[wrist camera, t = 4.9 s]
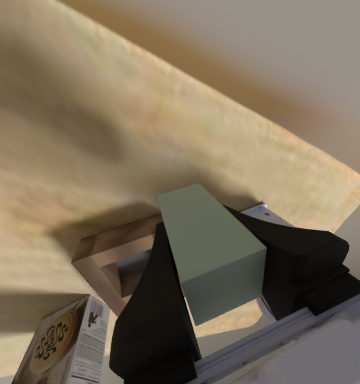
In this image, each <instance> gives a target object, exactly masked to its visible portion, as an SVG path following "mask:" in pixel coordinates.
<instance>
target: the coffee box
mask: <svg viewBox="0 0 360 384" xmlns="http://www.w3.org/2000/svg"><path fill="white" fill-rule="evenodd" d="M109 312H110V308H109V307H107V306H106V305H105V304H103V303H102V302H100V301H99V300H97V299H96V298H94V297H93V296H92V295H90V294H88V295H86V296H85V297H83V298H81V299H79V300H77V301H75V302H74V303H72V304H70V305H68V306H66V307H64V308H63V309H61V310H59V311H57V312H55V313H54V314H52V315H50V316H48V317H46V318H44V319H43V320H41V321H40V323H39V325H38V327H37V330H36V332H35V334H34V336H33V338H32V340H31V343H30V345H29V347H28V349H27V351H26V353H25V356H24V357H23V360H22V362H21V364H20V366H19V368H18V371H17V373H16V375H15V377H14V379H13V381H12V384H100V381H101V374H102V366H103V358H104V351H105V343H106V335H107V327H108V320H109Z"/></svg>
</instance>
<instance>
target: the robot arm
mask: <svg viewBox="0 0 360 384" xmlns="http://www.w3.org/2000/svg"><path fill="white" fill-rule="evenodd" d="M223 206H224V207H225V208H226V209H227V210H228V211H229V212H230V213H231V214H232V215H233V216H234V217H235V218H236V219H237V220H238V221H239V222H240V223H241V224H242V225H243V226H245V227H246V228H247V229H248V230H249V231H250V232H251V233H252V234H253V235H254V236H255V237H256V238H257V239H258V240H259V241H260V242H261V243H262V244H263V245H264V246H265V247H266V248H267V251H266V259H265V268H264V277H263V286H262V295H261V297H258V298H256V301H257V304H258V306H259V308H260V310H261V312H262V313H263V315H264V316H265V318H266V319H267V320H268V322H269V323H270V324H271V325H269V326H267V327H265V328H263V329H261V330H259V331H257V332H255V333H253V334H251V335H249V336H247V337H245V338H243V339H241V340H239V341H237V342H235V343H233V344H231V345H229V346H227V347H225V348H223V349H221V350H219V351H217V352H215V353H213V354H211V355H209V356H207V357H205V358H203V359H202V357H201V354H200V350H199V347H198V344H197V340H196V337H195V333H194V330H193V326H192V323H191V319H190V316H189V313H188V309H187V306H186V302H185V299H184V295H183V292H182V288H181V285H180V280H179V275H178V271H177V267H176V264H175V260H174V257H173V253H172V250H171V246H170V242H169V239H168V235H167V232H166V228H165V225H164V221H163V222H160V223H157V224H156V230H155V237H154V241H153V246H152V249H151V253H150V256H149V259H148V262H147V264H146V267H145V269H144V272H143V274H142V276H141V278H140V280H139V283H138V284H137V286H136V288H135V290H134V292H133V294H132V296H131V298H130V299H129V301H128V303H127V304H126V306H125V307H124V309H123V311H122V312H121V314H120V315H119V317H118V319H117V320H116V323H115V327H114V331H113V336H112V342H111V351H110V361H109V367H110V369H111V370H112V371H113V372H114V373H115V374H117V375H118V376H120V377H121V378H122V379H124V384H212V383H214V382H216V381H218V380H220V379H222V378H224V377H225V376H227V375H229V374H231V373H233V372H235V371H237V370H239V369H241V368H243V367H244V366H246V365H248V364H250V363H252V362H254V361H256V360H257V359H259V358H261V357H263V356H265V355H267V354H269V353H271V352H272V351H274V350H276V349H278V348H280V347H282V346H284V345H286V344H288V343H290V344H289V345H287V346H286V347H284V348H282V349H280V350H279V351H277V352H276V353H274V354H272V355H271V356H270V357H269V358H267V359H266V360H265V361H264V362H262V363H260V364H259V365H257V366H256V367H254V368H253V369H251V370H250V371H248V372H247V373H245V374H243V375H242V376H240V377H239V378H237V379H236V380H234V381H233V382H232V383H230V384H360V280H358V279H357V278H355V277H354V276H352V275H351V274H349V273H348V272H349V271H350V270H349V269H348V268H347V267H346V266H344V265H343V264H342V263H343V261H344V259H345V257H346V255H347V253H348V251H349V244H348V242H347V241H345V240H343V239H341V238H340V237H338V236H336V235H334V234H333V233H331V232H329V231H321V230H311V229H303V228H296V227H294V226H293V225H291V224H290V223H288V222H287V221H285V220H284V219H282V218H281V217H279V216H278V215H276V214H275V213H273V212H272V211H270V210H269V209H267V204H265V203H263V204H261V205H258V206H255V207H252V208H250V209H247V210H244V211H241V212H238V211H236V210H234V209H231V208H229V207H227V206H225V205H223Z"/></svg>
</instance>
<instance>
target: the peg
mask: <svg viewBox="0 0 360 384" xmlns="http://www.w3.org/2000/svg"><path fill="white" fill-rule="evenodd" d="M156 197H157V200H158V204H159V207H160V211H161V214H162V218H163V221H164V225H165V228H166V232H167V235H168V239H169V242H170V246H171V250H172V253H173V257H174V260H175V264H176V267H177V271H178V274H179V278H180V281H181V284H182V287H183V290H184V293H185V296H186V299H187V302H188V305H189V308H190V311H191V314H192V317H193V320H194V323H195V325H196V326H198V325H200V324H202V323H204V322H206V321H209V320H211V319H213V318H215V317H217V316H219V315H222V314H224V313H226V312H228V311H230V310H232V309H235V308H237V307H239V306H241V305H243V304H245V303H248V302H250V301H252V300H254V299H256V298H258V297H261V295H262V286H263V277H264V268H265V259H266V251H267V248H266V247H265V246H264V245H263V244H262V243H261V242H260V241H259V240H258V239H257V238H256V237H255V236H254V235H253V234H252V233H251V232H250V231H249V230H248V229H247V228H246V227H245V226H243V225H242V224H241V223H240V222H239V221H238V220H237V219H236V218H235V217H234V216H233V215H232V214H231V213H230V212H229V211H228V210H227V209H226V208H225V207H224V206H223V205H222V204H220V203H219V202H218V201H217V200H216V199H215V198H214V197H213V196H212V195H211V194H210V193H209V192H208V191H207V190H206V189H205V188H204V187H203V186H202V185H201V184H200V183H196V184H193V185H189V186H186V187H183V188H180V189H177V190H173V191H170V192H167V193H164V194H160V195H157V196H156Z"/></svg>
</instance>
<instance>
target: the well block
mask: <svg viewBox="0 0 360 384" xmlns="http://www.w3.org/2000/svg"><path fill="white" fill-rule="evenodd" d="M160 222H163V218H162V214H161V213H159V214H156V215H153V216H150V217H147V218H144V219H141V220H138V221H135V222H132V223H129V224H126V225H123V226H120V227H117V228H114V229H111V230H108V231H105V232H102V233H99V234H96V235H93V236H90V237H87V238H84V239H82V240H81V242H80V244H79V246H78V249H77V251H76V253H75V255H74V257H73V260H72V262H71V263H72V265H73V266H74V267H75V268H76V269H77V270H78V272H79V273H80V274H81V275H82V276H83V277H84V279H85V280H86V281H87V282H88V283H89V284H90V286H91V287H92V288H93V289H94V290H95V291H96V292H97V294H98V295H99V296H100V297H101V298H102V299H103V301H104V302H105V303H106V304H107V305H108V306H109V308H110V309H111V310H112V311H113V312H114V313H115V315H116V316H117V317H119V315H120V314H121V312H122V311H123V309H124V307H125V306H126V304H127V303H128V301H129V299H130V298H131V296H132V294H133V292H134V290H135V288H136V286H137V284H138V283H139V280H140V278H141V276H142V274H143V272H144V269H145V267H146V264H147V262H148V259H149V256H150V253H151V249H152V246H153V241H154V237H155V230H156V224H157V223H160ZM178 275H179V274H178ZM179 280H180V278H179ZM180 285H181V288H182V292H183V295H184V297H185V293H184V290H183V287H182V284H181V281H180Z"/></svg>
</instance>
